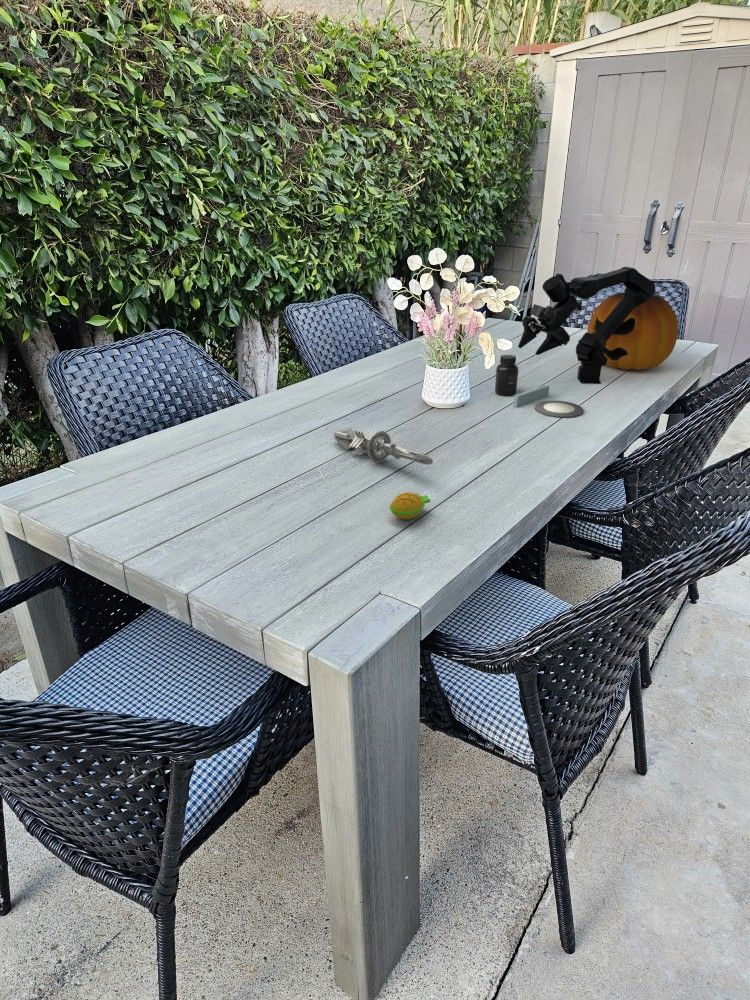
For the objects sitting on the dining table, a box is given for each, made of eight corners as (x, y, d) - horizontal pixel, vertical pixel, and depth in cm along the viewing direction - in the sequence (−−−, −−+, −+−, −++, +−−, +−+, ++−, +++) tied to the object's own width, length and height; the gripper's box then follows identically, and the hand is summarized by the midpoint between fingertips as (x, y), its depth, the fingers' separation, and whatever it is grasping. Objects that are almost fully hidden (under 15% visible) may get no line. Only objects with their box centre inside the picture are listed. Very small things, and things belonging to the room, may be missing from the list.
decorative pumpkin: (566, 359, 254) (577, 276, 241) (627, 351, 265) (641, 271, 252) (623, 381, 230) (639, 289, 216) (688, 371, 241) (707, 283, 228)
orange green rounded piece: (382, 519, 142) (382, 496, 139) (408, 502, 149) (409, 480, 147) (410, 529, 138) (411, 505, 136) (435, 510, 146) (436, 488, 143)
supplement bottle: (515, 390, 220) (518, 354, 215) (517, 397, 214) (520, 359, 209) (493, 389, 221) (496, 353, 216) (494, 396, 215) (498, 359, 209)
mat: (577, 402, 210) (577, 400, 209) (588, 418, 197) (588, 416, 197) (531, 401, 210) (531, 399, 210) (539, 417, 198) (539, 415, 197)
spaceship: (416, 458, 151) (438, 436, 154) (318, 431, 175) (339, 413, 178) (427, 485, 155) (448, 463, 159) (329, 455, 180) (349, 437, 183)
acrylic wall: (544, 395, 216) (546, 384, 214) (548, 396, 215) (549, 385, 213) (513, 406, 206) (514, 395, 205) (516, 407, 206) (517, 396, 204)
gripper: (529, 289, 216) (497, 327, 217) (567, 300, 201) (532, 341, 202) (547, 313, 223) (515, 350, 224) (584, 324, 208) (550, 364, 208)
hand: (527, 350), depth 214 cm, fingers open, 9 cm apart
